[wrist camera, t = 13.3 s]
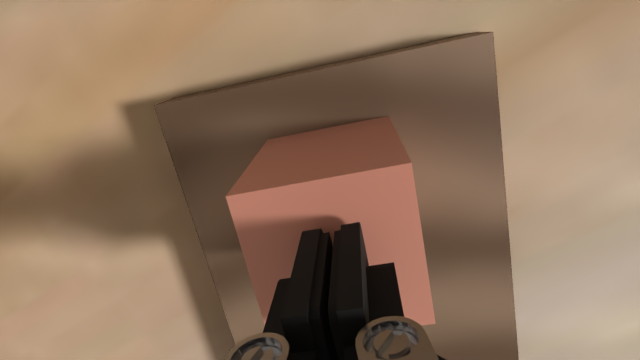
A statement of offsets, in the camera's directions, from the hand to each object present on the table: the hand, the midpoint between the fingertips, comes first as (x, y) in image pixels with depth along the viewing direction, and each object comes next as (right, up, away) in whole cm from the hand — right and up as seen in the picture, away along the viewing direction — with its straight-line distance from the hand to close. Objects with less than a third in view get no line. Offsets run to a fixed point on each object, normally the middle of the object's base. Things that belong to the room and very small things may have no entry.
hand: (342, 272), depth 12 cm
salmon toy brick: (0, +2, +7) cm, 7 cm away
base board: (+1, -1, +10) cm, 10 cm away
